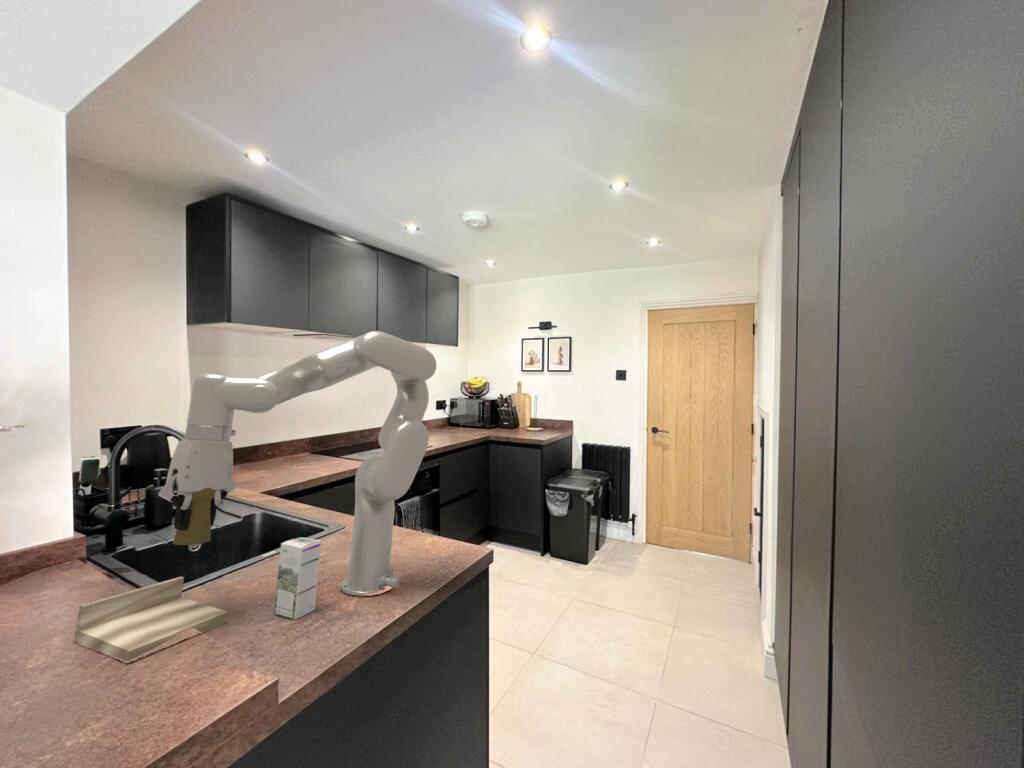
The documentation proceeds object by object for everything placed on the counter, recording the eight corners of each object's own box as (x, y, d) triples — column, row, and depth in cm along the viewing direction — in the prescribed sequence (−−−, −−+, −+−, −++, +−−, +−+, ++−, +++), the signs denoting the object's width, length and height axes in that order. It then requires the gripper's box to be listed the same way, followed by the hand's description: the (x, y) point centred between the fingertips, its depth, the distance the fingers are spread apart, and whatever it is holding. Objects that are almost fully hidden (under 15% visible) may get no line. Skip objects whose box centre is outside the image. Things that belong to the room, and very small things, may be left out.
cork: (189, 546, 78) (198, 487, 80) (164, 542, 80) (173, 484, 81) (218, 539, 84) (226, 484, 85) (194, 535, 86) (202, 481, 87)
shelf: (226, 622, 81) (230, 590, 81) (127, 664, 66) (133, 624, 66) (176, 606, 86) (180, 576, 86) (74, 642, 71) (79, 605, 72)
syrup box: (316, 609, 88) (323, 539, 90) (293, 621, 83) (301, 546, 84) (295, 604, 90) (302, 535, 91) (271, 615, 84) (280, 542, 86)
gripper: (236, 434, 93) (224, 517, 91) (149, 432, 78) (132, 532, 76) (259, 436, 91) (247, 522, 89) (173, 435, 75) (156, 539, 73)
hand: (194, 526), depth 82 cm, fingers closed on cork, 4 cm apart
